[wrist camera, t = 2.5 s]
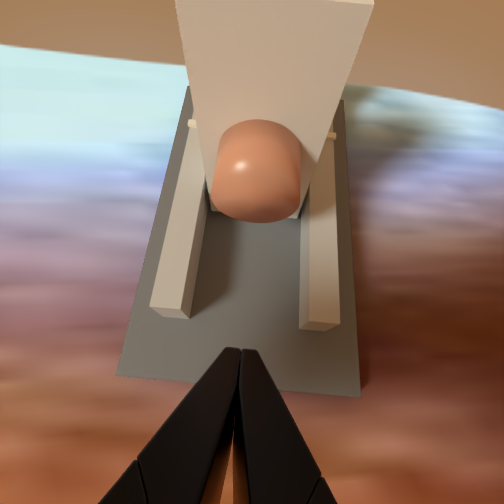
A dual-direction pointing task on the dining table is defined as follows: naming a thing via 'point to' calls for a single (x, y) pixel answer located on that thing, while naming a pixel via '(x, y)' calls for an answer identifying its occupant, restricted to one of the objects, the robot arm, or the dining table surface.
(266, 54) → the plug
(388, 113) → the dining table surface
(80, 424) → the dining table surface
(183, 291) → the station
